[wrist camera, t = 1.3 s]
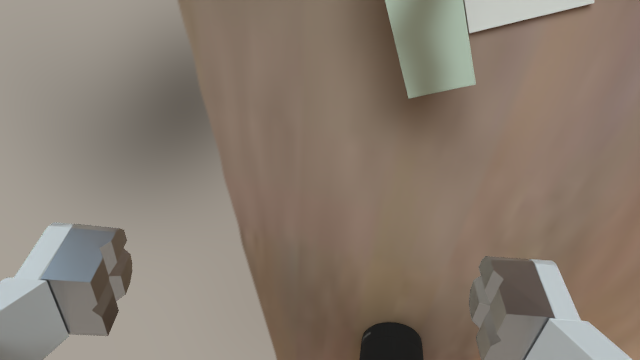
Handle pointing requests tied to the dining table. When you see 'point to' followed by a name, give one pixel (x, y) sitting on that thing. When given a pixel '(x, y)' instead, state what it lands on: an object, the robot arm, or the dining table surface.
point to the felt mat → (512, 11)
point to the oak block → (431, 44)
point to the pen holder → (391, 343)
